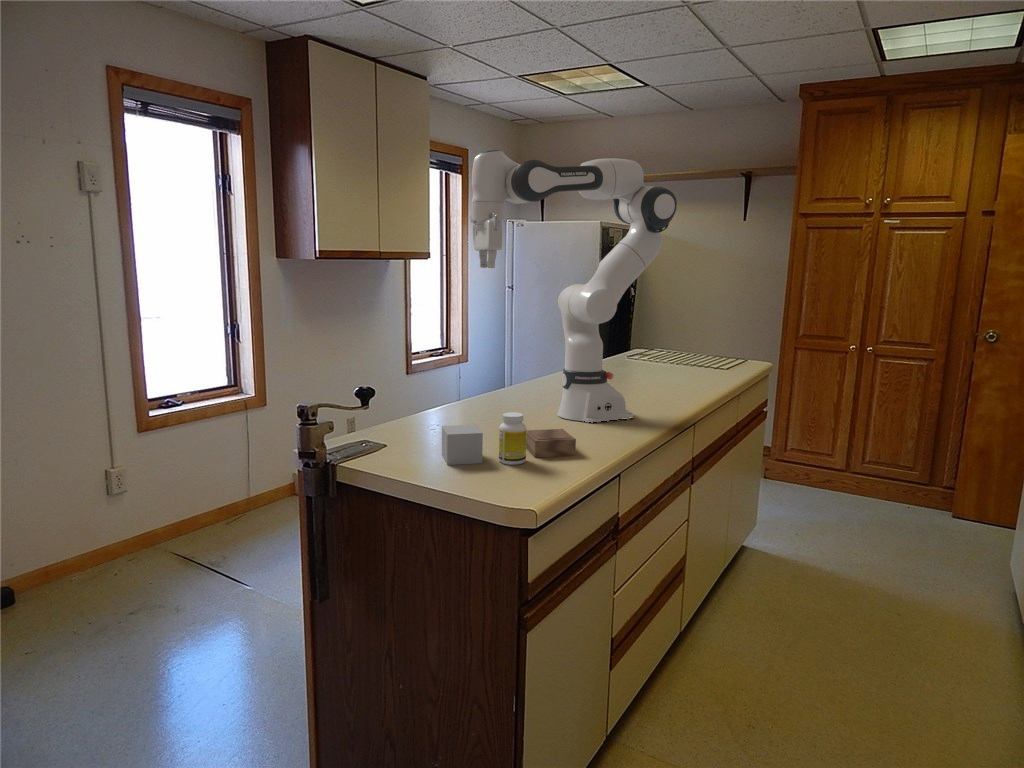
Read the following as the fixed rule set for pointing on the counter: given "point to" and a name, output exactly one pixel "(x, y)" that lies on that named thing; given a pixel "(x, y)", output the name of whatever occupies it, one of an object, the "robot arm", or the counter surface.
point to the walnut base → (550, 443)
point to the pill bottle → (512, 439)
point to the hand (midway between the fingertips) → (487, 267)
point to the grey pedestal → (462, 444)
